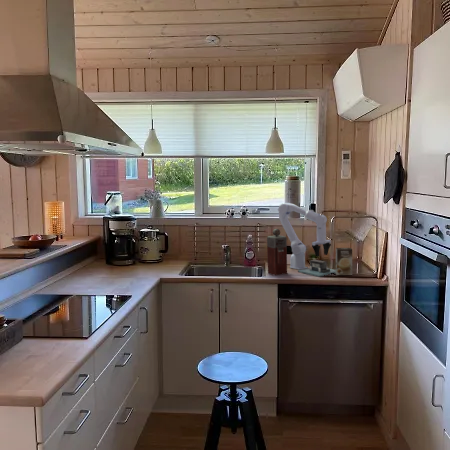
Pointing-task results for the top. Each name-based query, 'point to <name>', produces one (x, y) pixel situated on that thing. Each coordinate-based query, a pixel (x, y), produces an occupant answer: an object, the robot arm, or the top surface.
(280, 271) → the brown tall bottle
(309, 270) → the teal square peg board
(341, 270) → the coffee box
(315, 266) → the drive
